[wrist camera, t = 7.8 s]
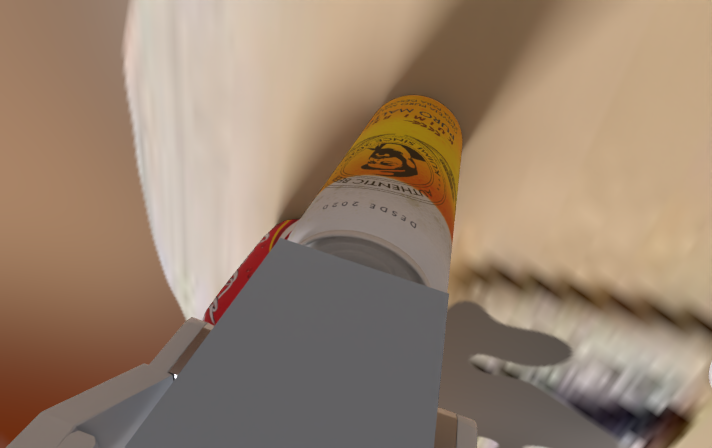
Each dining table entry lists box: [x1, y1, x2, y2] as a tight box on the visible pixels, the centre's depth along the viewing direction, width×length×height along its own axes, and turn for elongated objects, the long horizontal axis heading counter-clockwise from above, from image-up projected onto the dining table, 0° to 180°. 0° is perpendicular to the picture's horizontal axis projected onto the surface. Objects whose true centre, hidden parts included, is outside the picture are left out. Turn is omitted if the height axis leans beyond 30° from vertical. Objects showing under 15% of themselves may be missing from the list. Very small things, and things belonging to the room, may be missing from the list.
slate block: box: [125, 238, 449, 448], centre depth 10 cm, size 5×5×6 cm
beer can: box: [288, 95, 462, 293], centre depth 19 cm, size 6×6×15 cm
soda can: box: [203, 219, 299, 326], centre depth 28 cm, size 7×7×12 cm
